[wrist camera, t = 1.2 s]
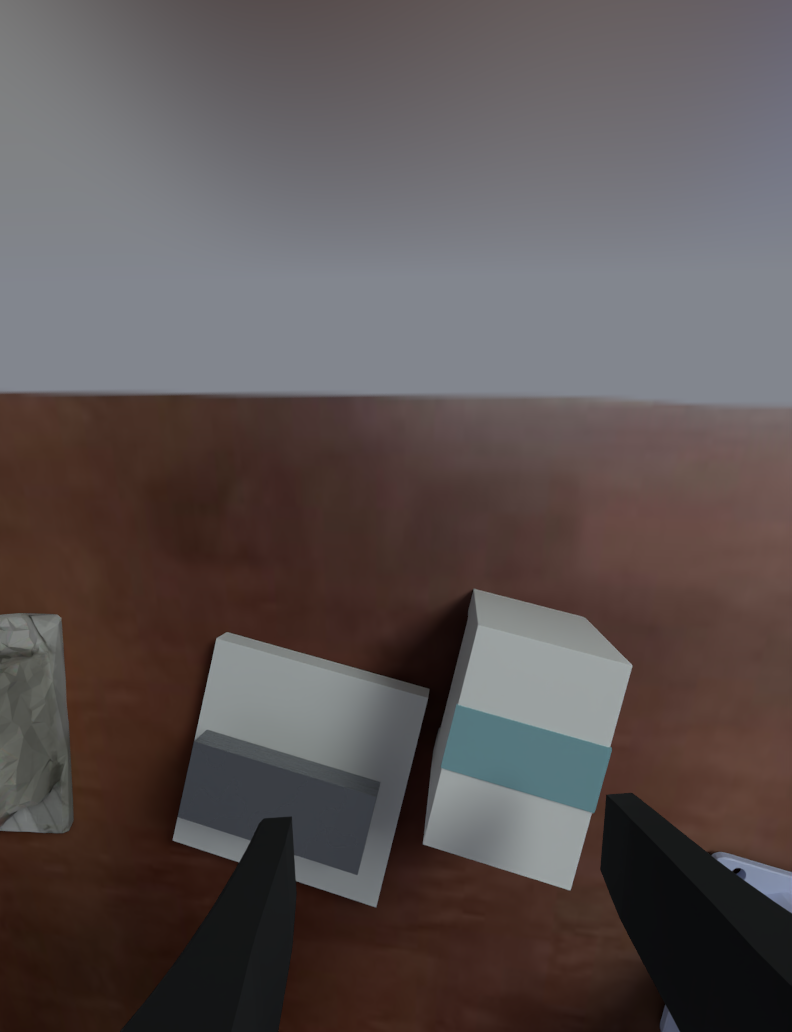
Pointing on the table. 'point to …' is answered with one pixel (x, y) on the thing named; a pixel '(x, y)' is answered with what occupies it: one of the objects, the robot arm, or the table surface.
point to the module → (524, 739)
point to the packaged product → (34, 726)
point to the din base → (314, 740)
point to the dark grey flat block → (279, 798)
